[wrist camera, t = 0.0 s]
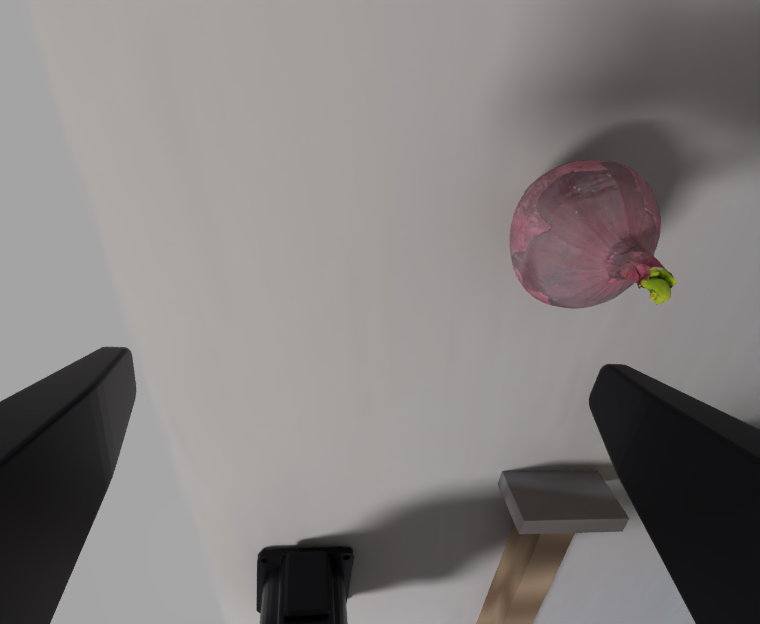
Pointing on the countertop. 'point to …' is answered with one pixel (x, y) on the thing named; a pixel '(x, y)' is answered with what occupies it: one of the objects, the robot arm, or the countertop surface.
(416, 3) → the countertop surface
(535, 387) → the countertop surface
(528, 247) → the vegetable
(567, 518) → the bar
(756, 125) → the countertop surface
